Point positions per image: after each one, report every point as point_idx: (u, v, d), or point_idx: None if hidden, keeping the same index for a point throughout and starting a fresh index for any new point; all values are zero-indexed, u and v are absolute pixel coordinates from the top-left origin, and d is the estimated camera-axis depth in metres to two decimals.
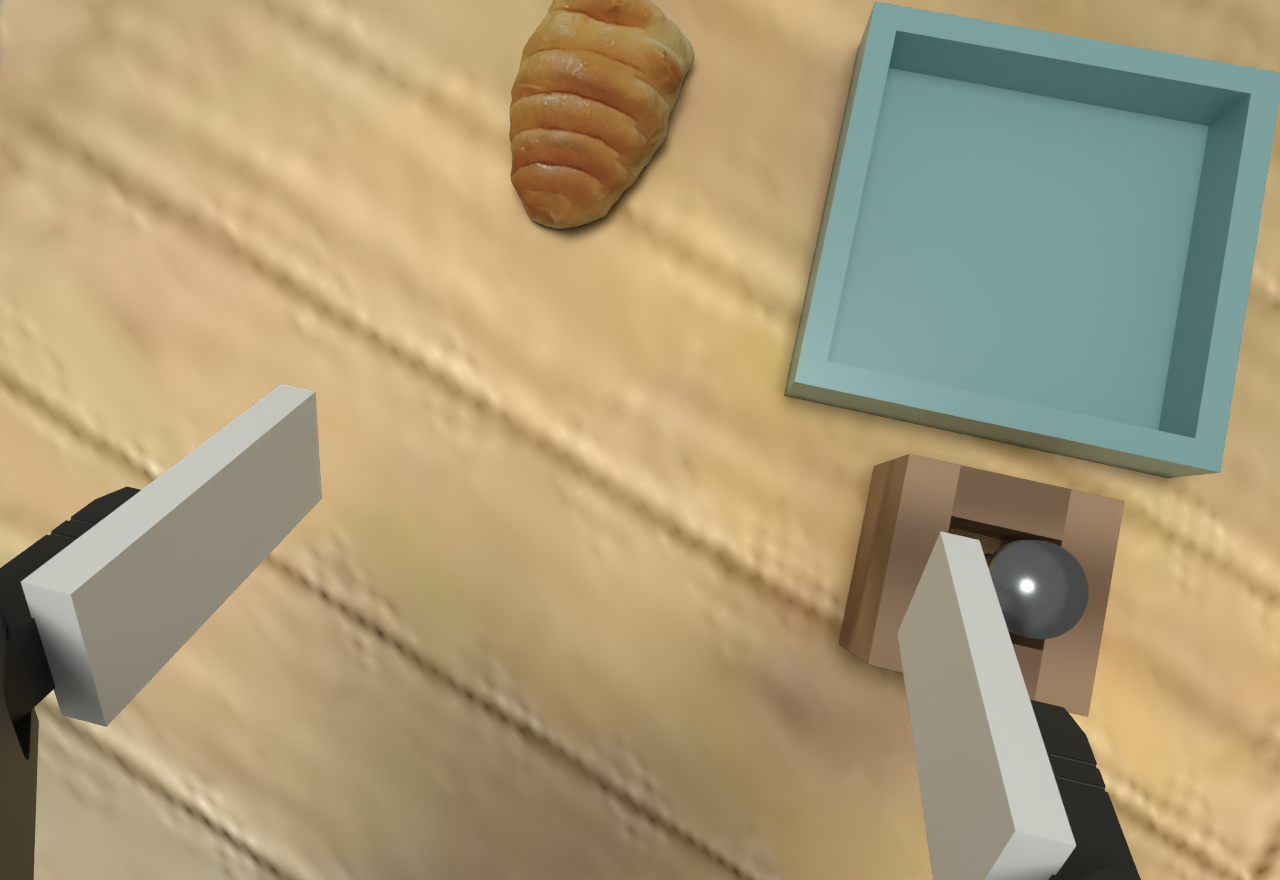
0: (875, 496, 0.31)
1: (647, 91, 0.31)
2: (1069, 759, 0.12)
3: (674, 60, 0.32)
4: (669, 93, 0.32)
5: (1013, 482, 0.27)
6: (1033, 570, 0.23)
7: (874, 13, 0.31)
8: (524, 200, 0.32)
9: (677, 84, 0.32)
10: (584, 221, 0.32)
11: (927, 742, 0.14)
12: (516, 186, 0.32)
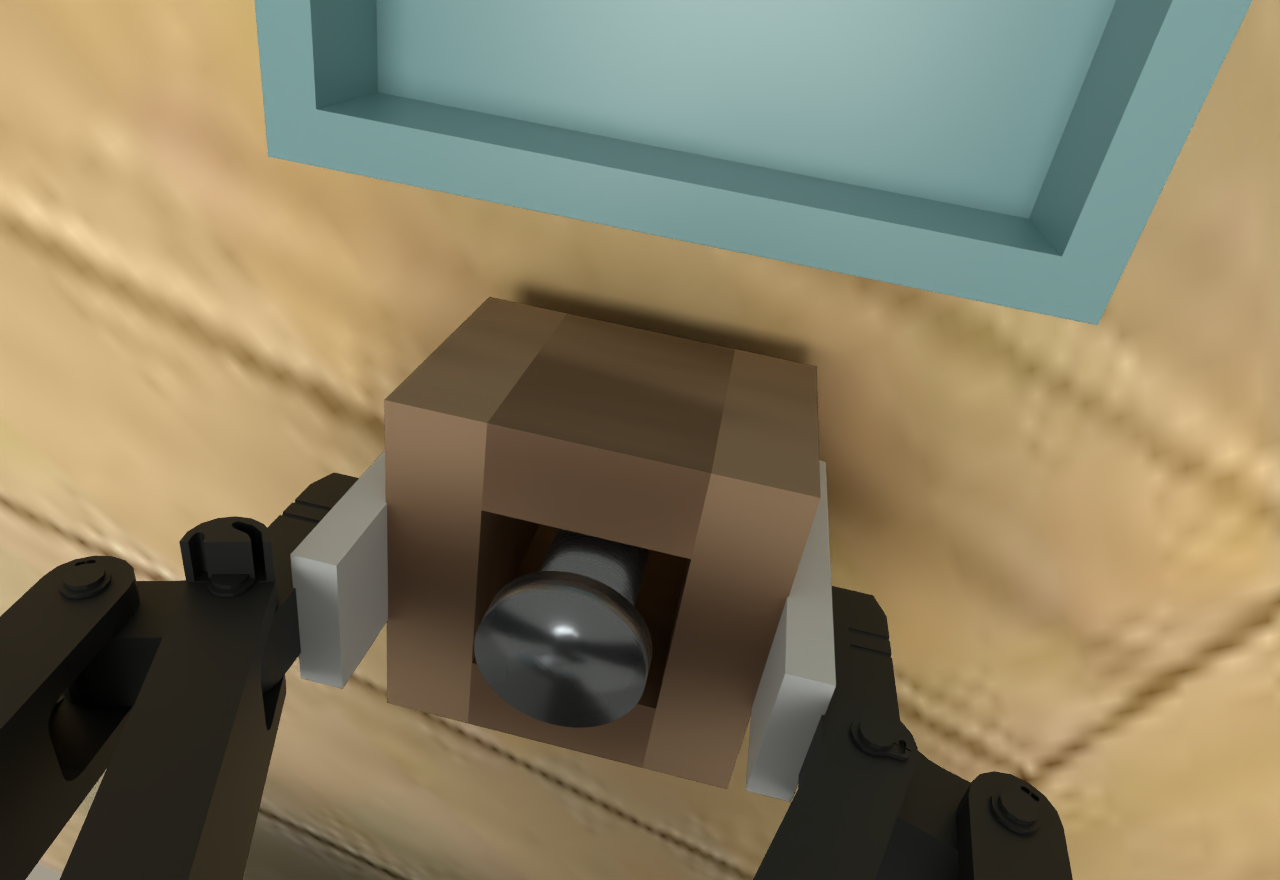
0: None
1: None
2: (865, 633, 0.14)
3: None
4: None
5: (594, 456, 0.13)
6: (547, 639, 0.13)
7: None
8: None
9: None
10: None
11: None
12: None
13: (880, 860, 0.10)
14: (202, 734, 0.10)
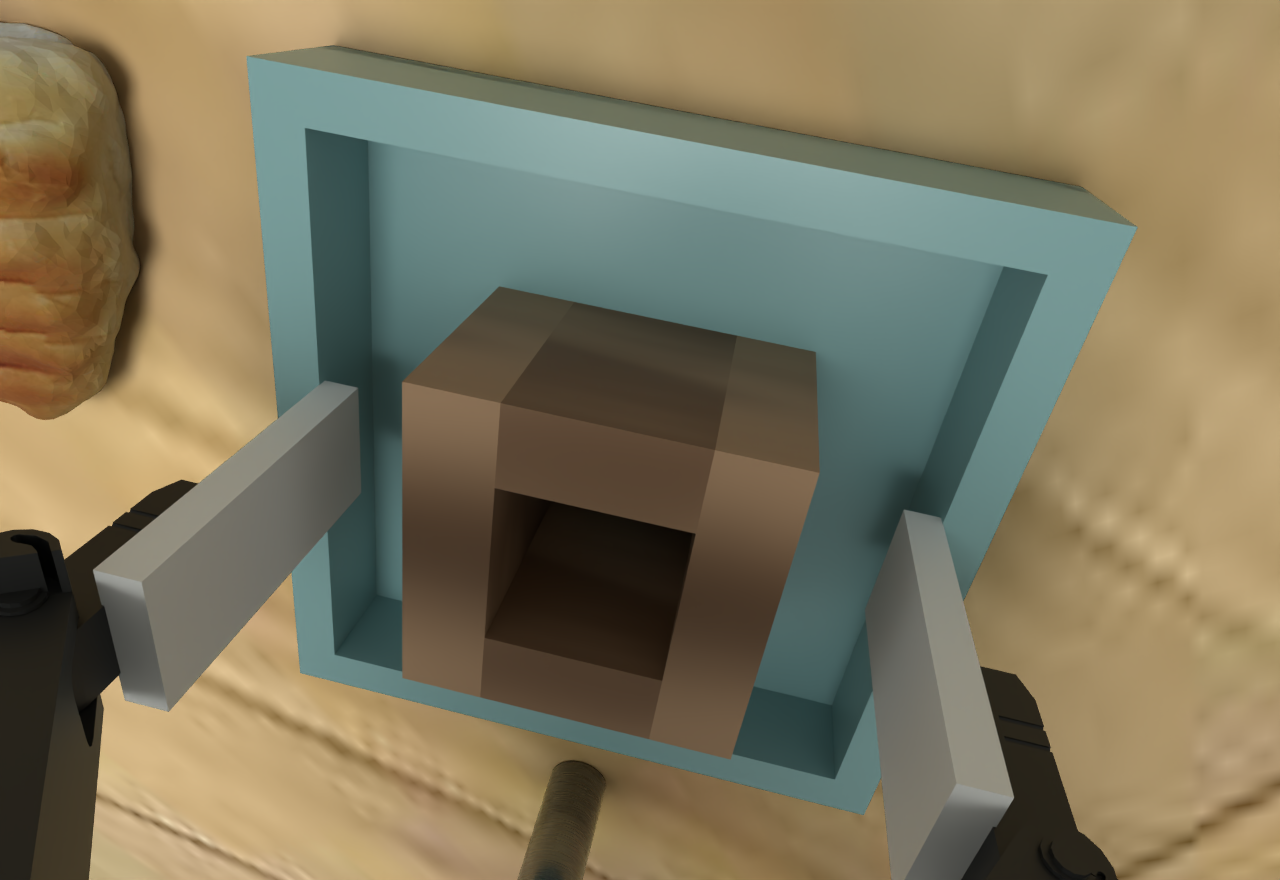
0: None
1: (11, 241, 0.17)
2: (1017, 722, 0.13)
3: (33, 154, 0.16)
4: (72, 200, 0.17)
5: (603, 434, 0.13)
6: None
7: (251, 88, 0.14)
8: None
9: (73, 186, 0.17)
10: (74, 407, 0.21)
11: (886, 710, 0.14)
12: None
13: None
14: (15, 756, 0.09)
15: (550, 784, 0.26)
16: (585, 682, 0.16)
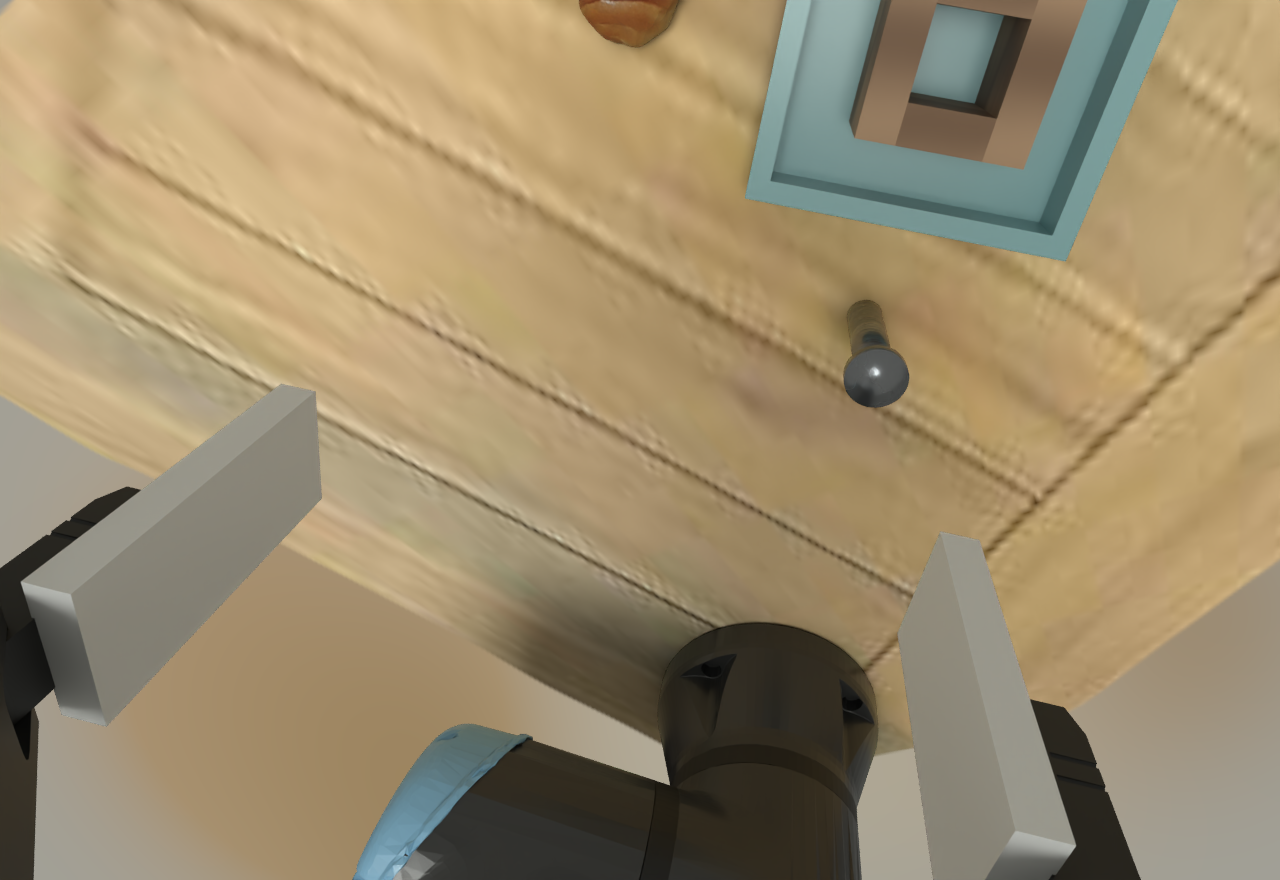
0: None
1: None
2: (1069, 759, 0.12)
3: None
4: None
5: None
6: (874, 368, 0.36)
7: None
8: (596, 30, 0.38)
9: None
10: (651, 39, 0.38)
11: (927, 742, 0.14)
12: None
13: None
14: None
15: (853, 310, 0.43)
16: (955, 126, 0.33)
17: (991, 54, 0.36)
